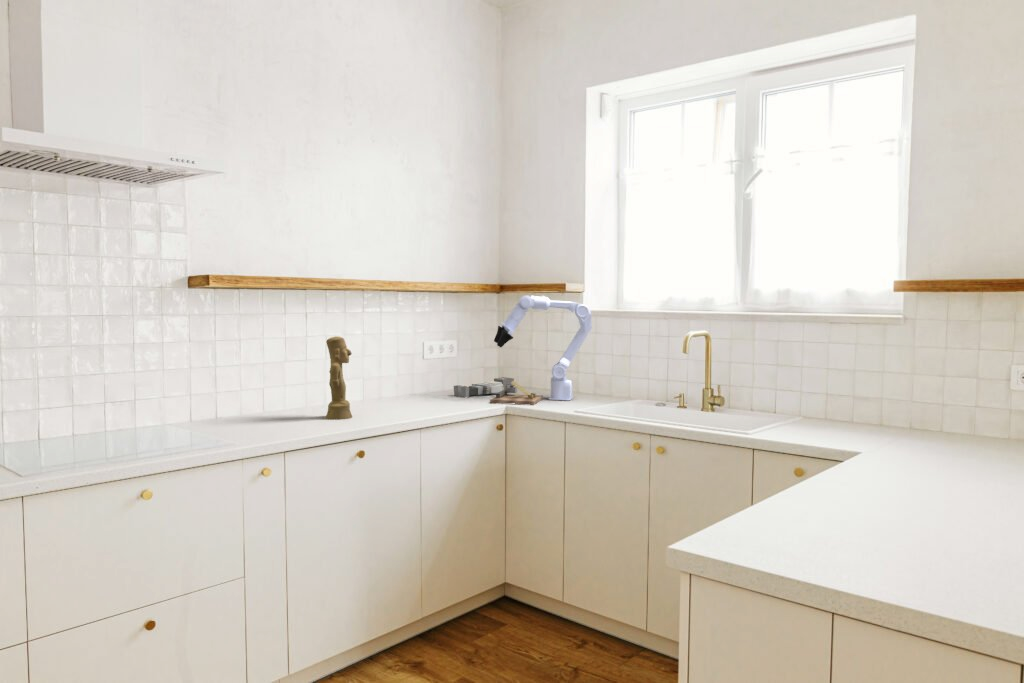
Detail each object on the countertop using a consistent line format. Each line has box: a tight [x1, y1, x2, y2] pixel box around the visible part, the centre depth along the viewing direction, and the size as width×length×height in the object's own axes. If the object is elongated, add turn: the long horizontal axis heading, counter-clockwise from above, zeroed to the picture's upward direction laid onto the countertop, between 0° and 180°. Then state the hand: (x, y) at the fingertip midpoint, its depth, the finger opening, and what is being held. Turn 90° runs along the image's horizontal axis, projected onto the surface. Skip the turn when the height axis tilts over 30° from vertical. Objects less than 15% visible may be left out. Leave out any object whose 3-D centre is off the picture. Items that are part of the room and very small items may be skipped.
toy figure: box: [453, 376, 515, 398], centre depth 345 cm, size 11×7×30 cm
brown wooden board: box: [489, 390, 544, 406], centre depth 322 cm, size 19×20×3 cm
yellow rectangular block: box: [511, 380, 534, 398], centre depth 321 cm, size 11×3×1 cm
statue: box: [325, 336, 353, 420], centre depth 273 cm, size 11×10×30 cm
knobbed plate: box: [506, 385, 518, 394], centre depth 329 cm, size 4×4×3 cm
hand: (497, 344), depth 329 cm, fingers open, 7 cm apart
